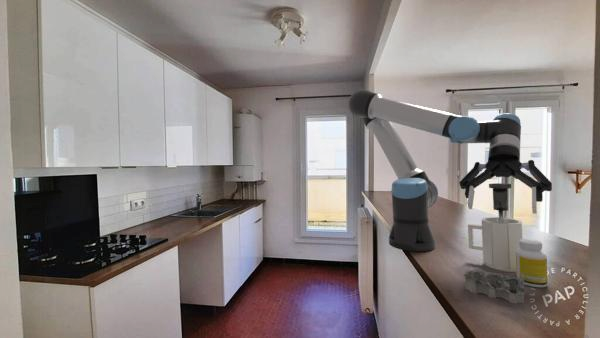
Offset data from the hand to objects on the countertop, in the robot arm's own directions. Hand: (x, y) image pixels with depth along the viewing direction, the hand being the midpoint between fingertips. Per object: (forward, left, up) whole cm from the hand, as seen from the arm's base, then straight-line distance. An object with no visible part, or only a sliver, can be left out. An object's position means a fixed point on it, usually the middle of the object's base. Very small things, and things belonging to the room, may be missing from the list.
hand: (499, 208), depth 68 cm
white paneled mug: (-2, +2, -16) cm, 16 cm away
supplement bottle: (+6, -6, -16) cm, 18 cm away
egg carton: (0, -16, -17) cm, 23 cm away
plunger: (0, +2, -14) cm, 14 cm away
